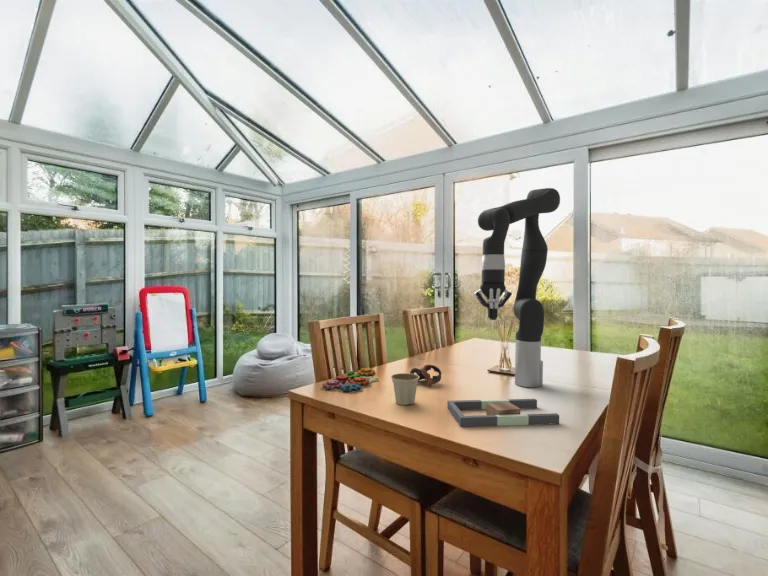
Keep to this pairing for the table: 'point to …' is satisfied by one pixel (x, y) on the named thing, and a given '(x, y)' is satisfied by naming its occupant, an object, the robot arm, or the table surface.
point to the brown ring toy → (427, 374)
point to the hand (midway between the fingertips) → (492, 319)
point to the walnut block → (501, 408)
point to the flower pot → (405, 387)
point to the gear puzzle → (351, 381)
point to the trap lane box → (498, 419)
